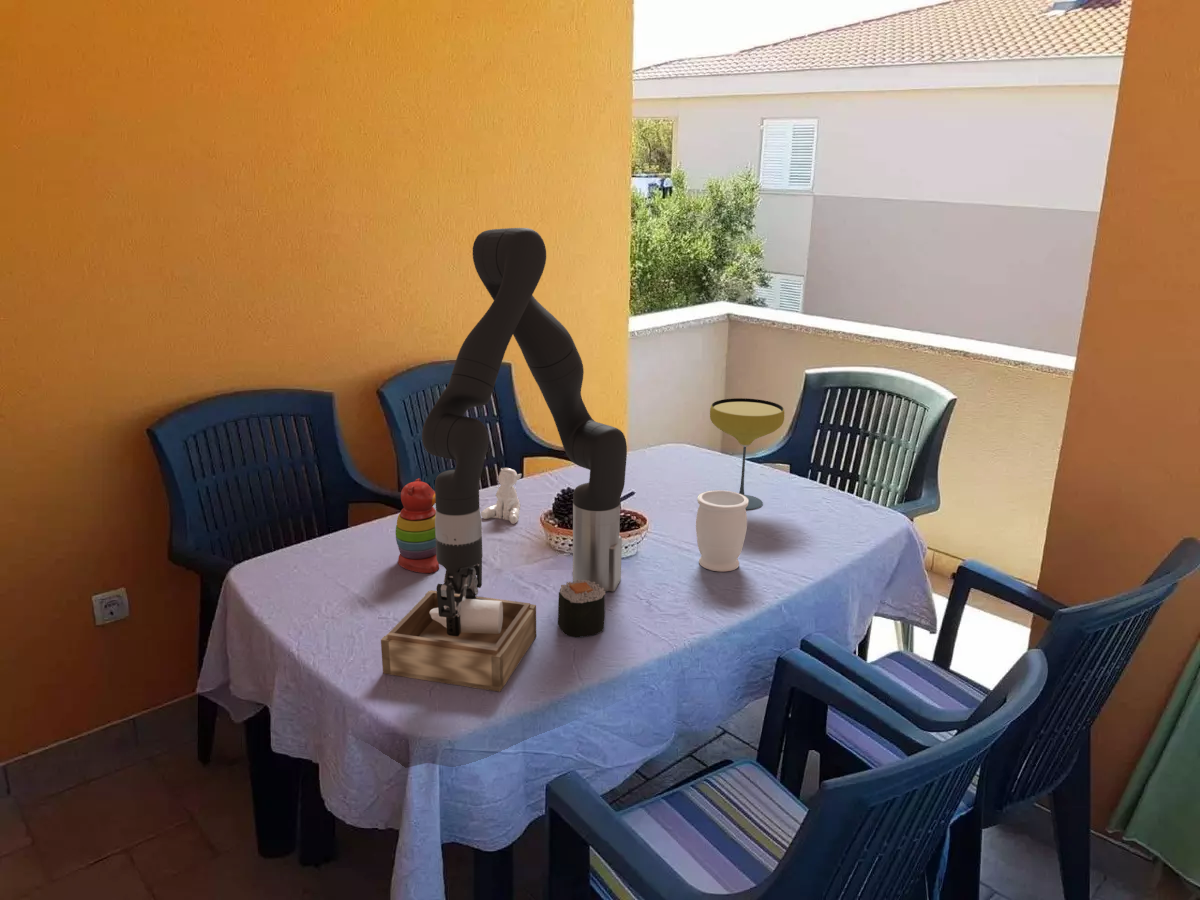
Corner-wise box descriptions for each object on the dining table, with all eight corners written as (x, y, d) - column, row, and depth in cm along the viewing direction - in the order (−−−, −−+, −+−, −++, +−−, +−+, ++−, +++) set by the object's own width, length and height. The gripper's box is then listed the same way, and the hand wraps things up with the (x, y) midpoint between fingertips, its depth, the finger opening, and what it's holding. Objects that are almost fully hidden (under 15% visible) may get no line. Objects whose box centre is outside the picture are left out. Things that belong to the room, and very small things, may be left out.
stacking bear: (434, 574, 181) (430, 493, 176) (388, 569, 183) (383, 488, 178) (453, 553, 191) (450, 475, 186) (409, 549, 193) (405, 472, 188)
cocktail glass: (726, 485, 236) (731, 394, 229) (789, 500, 226) (797, 405, 219) (692, 504, 222) (696, 408, 215) (757, 521, 212) (764, 420, 205)
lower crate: (536, 636, 158) (536, 604, 156) (500, 691, 141) (499, 657, 139) (430, 621, 162) (428, 590, 160) (382, 673, 145) (380, 639, 143)
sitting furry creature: (479, 519, 211) (478, 471, 207) (496, 507, 219) (495, 460, 215) (515, 524, 208) (514, 476, 204) (531, 512, 216) (530, 465, 212)
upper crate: (530, 633, 157) (530, 603, 155) (497, 684, 141) (496, 650, 139) (432, 620, 161) (430, 590, 159) (389, 667, 146) (387, 634, 144)
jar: (749, 559, 191) (754, 494, 186) (736, 578, 182) (740, 510, 177) (702, 550, 195) (706, 486, 190) (687, 568, 186) (690, 501, 181)
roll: (434, 620, 153) (433, 591, 151) (503, 623, 153) (503, 593, 151) (426, 637, 147) (424, 607, 146) (498, 640, 147) (497, 609, 145)
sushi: (569, 641, 156) (569, 600, 154) (552, 620, 164) (552, 580, 161) (611, 632, 159) (612, 592, 157) (593, 612, 167) (593, 573, 164)
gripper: (463, 553, 137) (466, 649, 142) (495, 520, 151) (497, 608, 156) (418, 548, 139) (423, 642, 144) (454, 515, 152) (458, 603, 157)
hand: (462, 624), depth 150 cm, fingers closed on roll, 6 cm apart
